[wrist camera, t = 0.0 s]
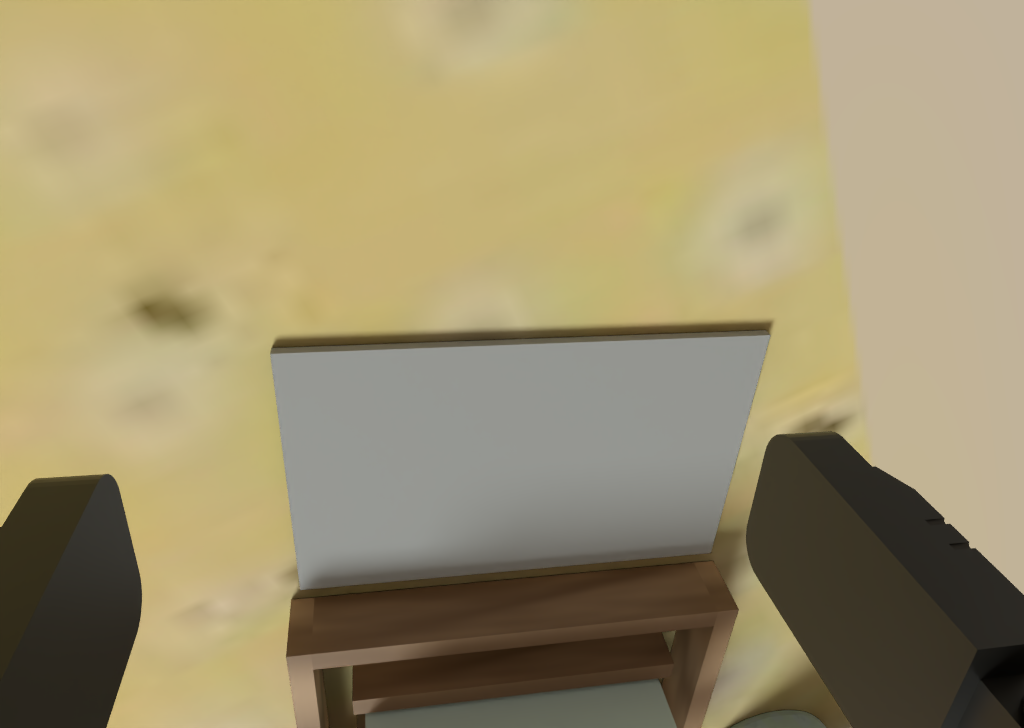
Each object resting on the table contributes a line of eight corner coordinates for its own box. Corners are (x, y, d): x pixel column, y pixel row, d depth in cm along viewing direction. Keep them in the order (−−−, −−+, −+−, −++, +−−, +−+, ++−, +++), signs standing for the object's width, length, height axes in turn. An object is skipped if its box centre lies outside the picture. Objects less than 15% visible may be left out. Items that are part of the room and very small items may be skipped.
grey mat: (271, 348, 27) (270, 353, 27) (766, 330, 30) (770, 335, 30) (300, 582, 33) (300, 590, 33) (707, 546, 37) (710, 553, 36)
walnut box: (291, 599, 34) (286, 657, 31) (713, 560, 37) (738, 609, 35) (312, 755, 40) (309, 813, 38) (671, 709, 44) (690, 759, 41)
